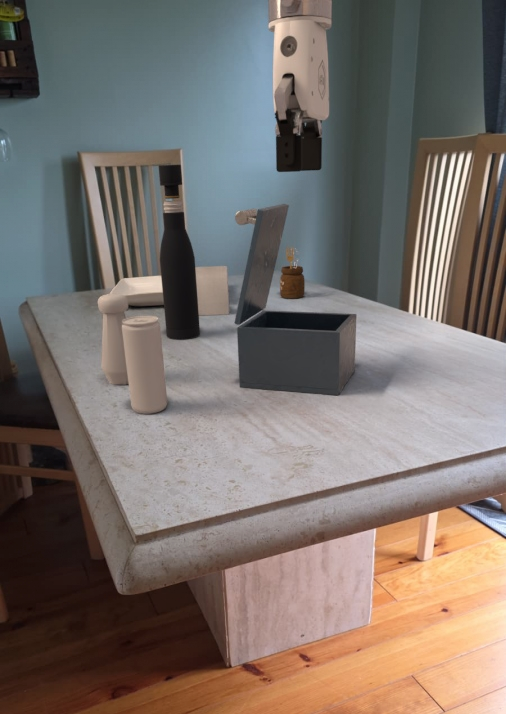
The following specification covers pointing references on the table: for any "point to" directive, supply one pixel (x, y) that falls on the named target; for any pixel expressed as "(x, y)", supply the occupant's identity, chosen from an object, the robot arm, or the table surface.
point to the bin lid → (260, 257)
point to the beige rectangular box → (212, 290)
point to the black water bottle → (177, 263)
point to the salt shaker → (113, 337)
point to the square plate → (141, 290)
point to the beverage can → (145, 363)
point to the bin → (297, 351)
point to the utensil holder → (292, 279)
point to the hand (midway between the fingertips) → (300, 170)
